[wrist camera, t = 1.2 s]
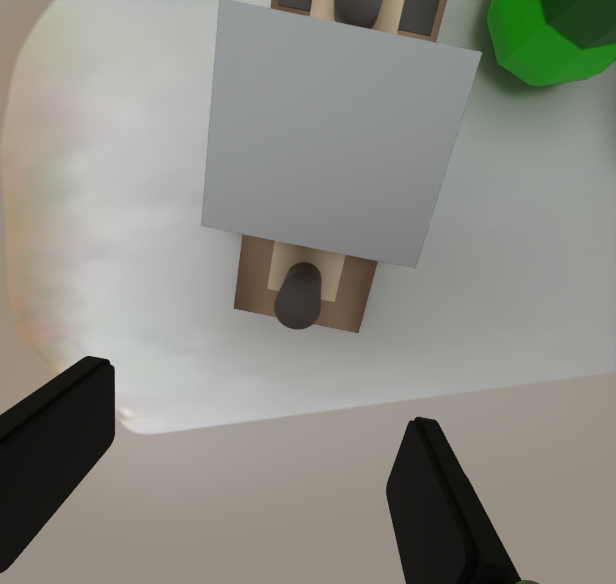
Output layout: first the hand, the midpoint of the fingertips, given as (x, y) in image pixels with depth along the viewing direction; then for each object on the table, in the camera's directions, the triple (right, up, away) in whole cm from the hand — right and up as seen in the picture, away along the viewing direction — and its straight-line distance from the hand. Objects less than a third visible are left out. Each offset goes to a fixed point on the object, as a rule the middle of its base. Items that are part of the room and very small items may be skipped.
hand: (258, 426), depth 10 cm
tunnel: (+3, +15, +15) cm, 21 cm away
